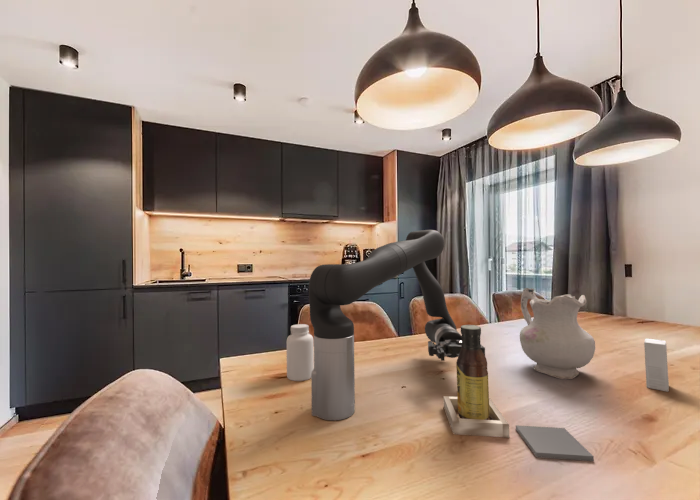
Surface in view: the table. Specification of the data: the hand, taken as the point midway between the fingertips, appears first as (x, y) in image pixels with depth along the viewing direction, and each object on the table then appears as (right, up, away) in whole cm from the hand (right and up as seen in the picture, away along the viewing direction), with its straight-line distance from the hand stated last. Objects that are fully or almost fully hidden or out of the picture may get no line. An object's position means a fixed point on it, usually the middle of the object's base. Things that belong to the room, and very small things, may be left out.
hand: (460, 357), depth 77 cm
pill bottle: (-42, -11, +15) cm, 46 cm away
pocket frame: (-1, -10, -11) cm, 15 cm away
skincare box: (+54, -10, +6) cm, 56 cm away
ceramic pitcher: (+35, -11, +19) cm, 41 cm away
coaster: (+10, -9, -20) cm, 24 cm away
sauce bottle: (-1, -10, -11) cm, 15 cm away
